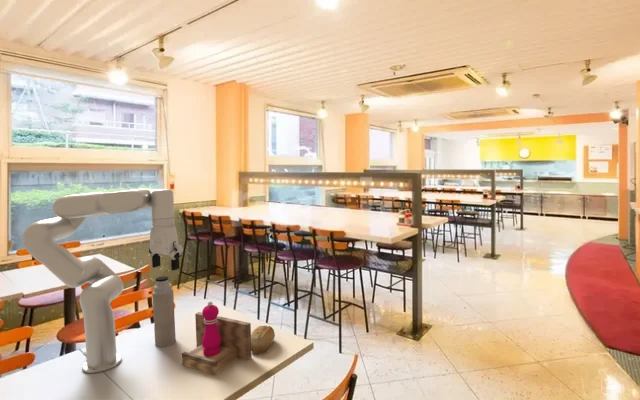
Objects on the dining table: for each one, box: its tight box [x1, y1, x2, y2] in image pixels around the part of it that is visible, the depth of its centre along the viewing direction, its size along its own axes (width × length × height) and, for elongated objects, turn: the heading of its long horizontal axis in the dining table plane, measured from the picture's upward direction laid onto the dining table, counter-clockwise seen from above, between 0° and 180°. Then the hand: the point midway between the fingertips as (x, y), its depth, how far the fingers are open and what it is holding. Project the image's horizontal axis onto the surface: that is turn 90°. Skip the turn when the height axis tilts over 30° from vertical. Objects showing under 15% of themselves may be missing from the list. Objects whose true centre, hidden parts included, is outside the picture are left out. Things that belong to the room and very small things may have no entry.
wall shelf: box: [181, 311, 252, 376], centre depth 135 cm, size 26×14×14 cm, turn 65°
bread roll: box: [251, 325, 276, 354], centre depth 145 cm, size 10×15×8 cm, turn 171°
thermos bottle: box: [152, 275, 177, 348], centre depth 148 cm, size 8×8×28 cm
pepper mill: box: [201, 301, 221, 356], centre depth 134 cm, size 7×7×20 cm
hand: (165, 268), depth 131 cm, fingers open, 9 cm apart
